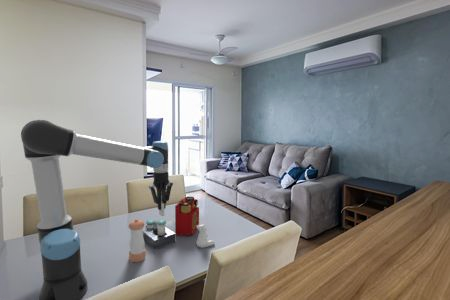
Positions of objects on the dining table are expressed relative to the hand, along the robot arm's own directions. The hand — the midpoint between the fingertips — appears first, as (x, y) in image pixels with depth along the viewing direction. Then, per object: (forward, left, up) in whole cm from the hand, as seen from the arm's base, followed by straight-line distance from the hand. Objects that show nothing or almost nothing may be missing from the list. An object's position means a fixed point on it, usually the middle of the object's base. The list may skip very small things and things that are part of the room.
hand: (161, 214), depth 128 cm
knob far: (0, +12, -15) cm, 19 cm away
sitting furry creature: (+15, -16, -16) cm, 27 cm away
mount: (0, +6, -16) cm, 17 cm away
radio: (+19, +3, -16) cm, 25 cm away
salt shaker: (-16, -5, -16) cm, 23 cm away
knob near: (0, 0, -11) cm, 11 cm away
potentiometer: (0, +6, -11) cm, 12 cm away
